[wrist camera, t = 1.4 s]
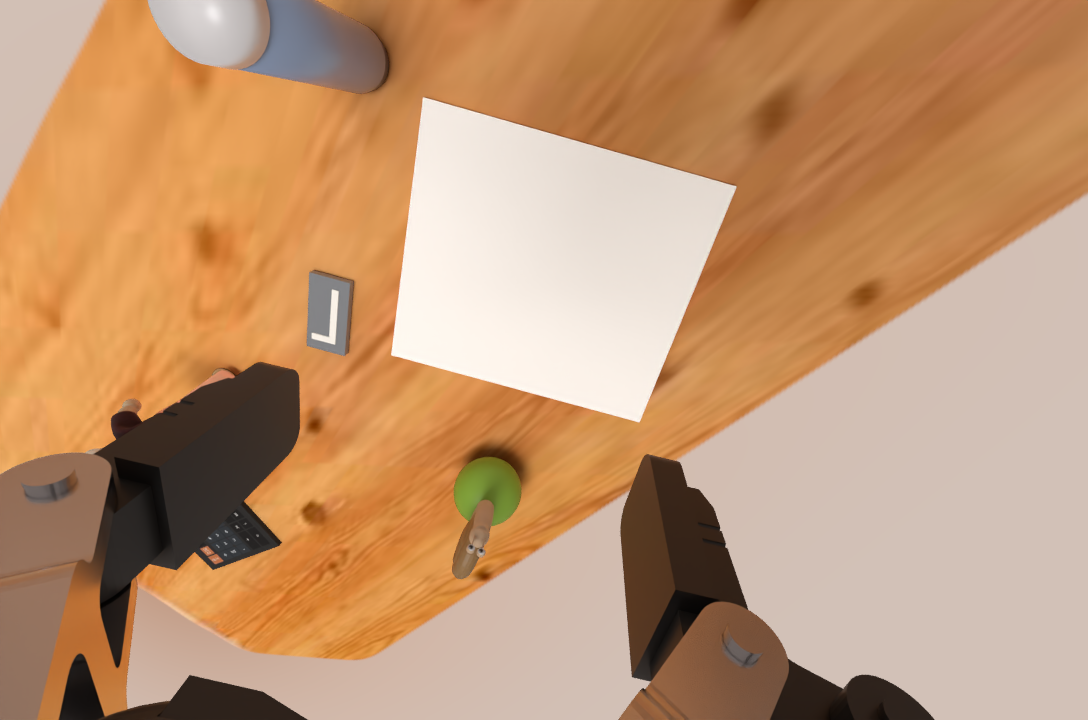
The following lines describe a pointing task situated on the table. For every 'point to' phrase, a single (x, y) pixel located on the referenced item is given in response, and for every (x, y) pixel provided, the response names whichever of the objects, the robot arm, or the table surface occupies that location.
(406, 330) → the paper
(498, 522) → the snail figurine
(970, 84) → the table surface
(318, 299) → the letter card
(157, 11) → the grey-blue cylinder
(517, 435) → the table surface
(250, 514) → the calculator
